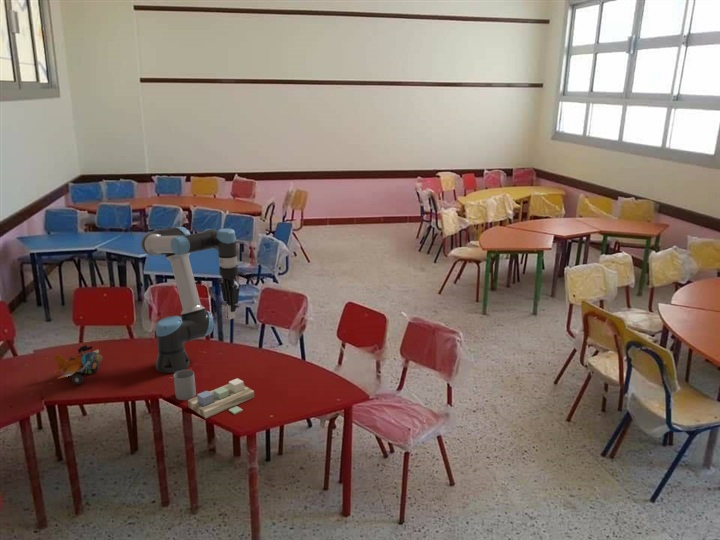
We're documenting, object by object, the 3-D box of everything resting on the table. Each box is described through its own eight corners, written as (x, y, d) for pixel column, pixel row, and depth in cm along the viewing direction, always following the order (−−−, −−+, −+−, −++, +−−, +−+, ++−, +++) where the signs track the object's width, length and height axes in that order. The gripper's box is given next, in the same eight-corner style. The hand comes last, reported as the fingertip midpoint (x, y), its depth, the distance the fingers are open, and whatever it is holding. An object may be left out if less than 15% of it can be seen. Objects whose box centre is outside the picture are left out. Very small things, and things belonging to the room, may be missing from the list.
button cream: (229, 391, 247) (228, 381, 245) (238, 387, 250) (237, 378, 248) (235, 394, 244) (234, 385, 242) (244, 391, 247) (243, 381, 245)
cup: (199, 394, 248) (197, 373, 245) (182, 402, 242) (180, 380, 239) (188, 388, 253) (186, 367, 250) (171, 395, 247) (169, 374, 244)
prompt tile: (228, 410, 235) (228, 409, 235) (237, 407, 238) (236, 405, 238) (234, 414, 233) (234, 413, 233) (242, 410, 236) (242, 409, 235)
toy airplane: (90, 388, 246) (75, 357, 242) (45, 399, 250) (30, 369, 247) (126, 358, 273) (113, 329, 270) (85, 368, 278) (72, 340, 275)
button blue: (197, 404, 236) (197, 394, 235) (207, 400, 239) (206, 390, 238) (203, 408, 233) (203, 398, 232) (213, 404, 236) (212, 394, 235)
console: (188, 406, 238) (187, 400, 237) (236, 386, 255) (236, 380, 254) (205, 418, 230) (205, 412, 229) (254, 397, 246) (254, 391, 245)
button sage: (214, 400, 242) (213, 390, 240) (223, 396, 245) (222, 386, 244) (220, 403, 239) (219, 394, 237) (229, 400, 242) (228, 390, 241)
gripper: (212, 264, 245) (215, 316, 252) (229, 270, 237) (233, 324, 244) (227, 260, 250) (230, 312, 257) (244, 267, 242) (247, 319, 249)
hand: (231, 318), depth 250 cm, fingers closed
